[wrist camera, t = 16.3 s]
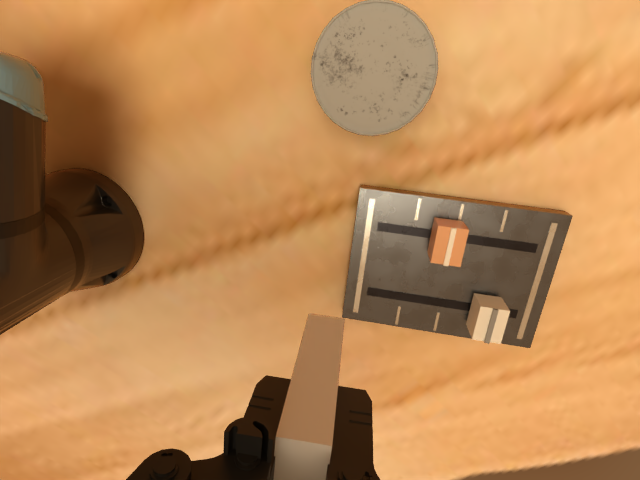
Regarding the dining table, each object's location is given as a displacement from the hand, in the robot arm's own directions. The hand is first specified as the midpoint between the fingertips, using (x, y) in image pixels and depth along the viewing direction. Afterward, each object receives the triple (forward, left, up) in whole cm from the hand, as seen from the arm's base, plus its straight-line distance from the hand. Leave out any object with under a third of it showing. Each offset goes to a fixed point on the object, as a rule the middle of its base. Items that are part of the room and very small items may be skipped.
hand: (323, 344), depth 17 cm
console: (+11, -7, -31) cm, 33 cm away
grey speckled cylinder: (0, +12, -31) cm, 33 cm away
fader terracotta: (+10, -3, -28) cm, 30 cm away
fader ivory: (+16, -11, -28) cm, 34 cm away
